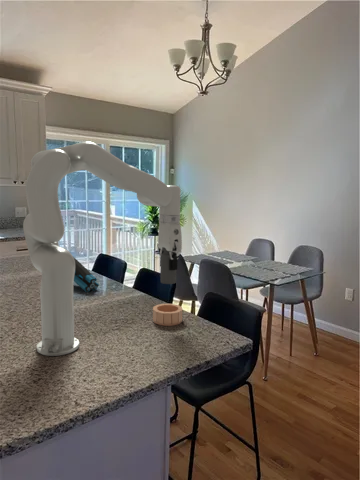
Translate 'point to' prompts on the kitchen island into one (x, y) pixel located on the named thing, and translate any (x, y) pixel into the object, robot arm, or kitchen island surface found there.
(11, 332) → the kitchen island surface
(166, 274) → the bottle
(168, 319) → the segmented wooden bowl
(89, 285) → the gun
